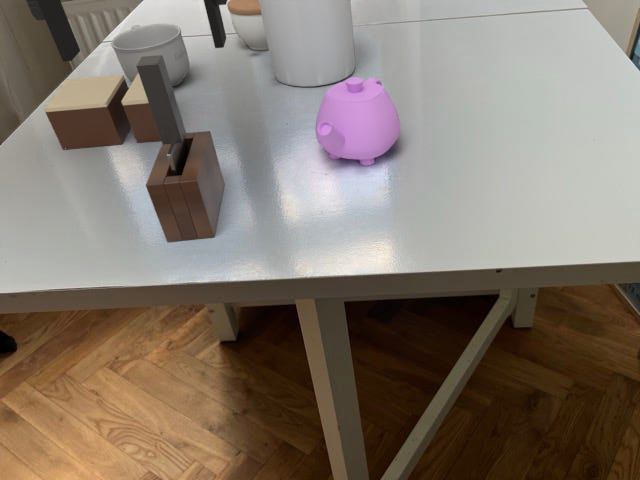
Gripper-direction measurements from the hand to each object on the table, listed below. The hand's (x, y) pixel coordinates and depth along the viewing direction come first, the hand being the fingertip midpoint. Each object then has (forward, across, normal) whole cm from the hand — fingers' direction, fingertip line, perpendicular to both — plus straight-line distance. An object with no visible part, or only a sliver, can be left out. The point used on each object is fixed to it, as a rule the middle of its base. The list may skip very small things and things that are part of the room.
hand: (147, 50), depth 51 cm
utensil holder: (+18, +14, +40) cm, 46 cm away
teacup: (+18, -12, +42) cm, 47 cm away
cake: (+18, -17, +24) cm, 35 cm away
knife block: (+18, 0, 0) cm, 18 cm away
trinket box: (+18, +5, +56) cm, 59 cm away
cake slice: (+18, -9, +24) cm, 31 cm away
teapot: (+18, +19, +10) cm, 28 cm away
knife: (+18, 0, 0) cm, 18 cm away
